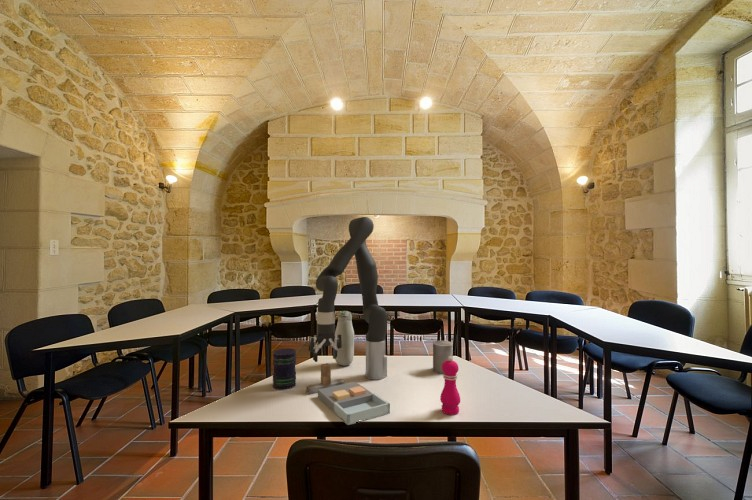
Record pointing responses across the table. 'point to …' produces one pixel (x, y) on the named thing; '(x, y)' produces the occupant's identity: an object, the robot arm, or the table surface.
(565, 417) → the table surface
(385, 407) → the tray
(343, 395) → the tile
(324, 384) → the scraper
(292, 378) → the storage jar
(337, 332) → the grey bottle
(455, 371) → the pepper mill
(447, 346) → the pillar candle
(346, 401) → the board
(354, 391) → the tile
